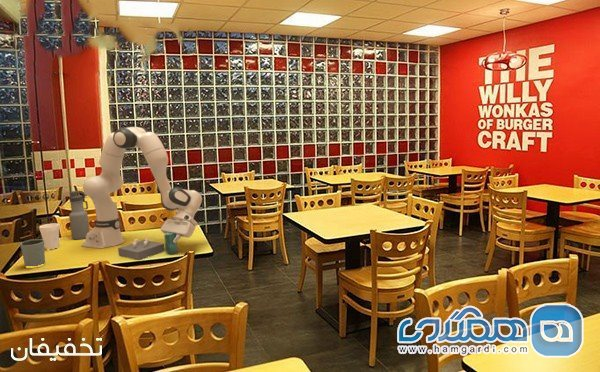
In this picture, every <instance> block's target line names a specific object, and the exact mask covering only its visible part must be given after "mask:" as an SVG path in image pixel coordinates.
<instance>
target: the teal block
mask: <svg viewBox="0 0 600 372" xmlns="http://www.w3.org/2000/svg"><path fill="white" fill-rule="evenodd" d="M163 235H164V236H163V237H164V248H165V253H166V254H167V255H174V254H176V253H178V241H177V242H176V243H173V242H172V240H173V239H174V238H175V237H176V233H167V234H165V233H163Z"/></svg>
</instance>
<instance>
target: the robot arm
mask: <svg viewBox="0 0 600 372" xmlns="http://www.w3.org/2000/svg"><path fill="white" fill-rule="evenodd" d="M136 148H138V149H140V151H141V152H142V154H143V157H144V158H145V161H146V163H147V164H148V167H149V169H150V172H151V173H152V176H153V179H154V181H155V183H156V186H157V189H158V191H159V194H160V203H161V206H162V208H163V209H165V210H167V211H170V212H171V211H172V212H173V211H176V210H177V209H178V210H177V211H176V214H174V216H173V217H172V216H171V217H170V218H167V219H166V220H165V222H164V223H163V224H162V225H161V227H160V232H162V233H163V234H167V233H176V237H175V238H174V239H173V240H172V242H173V243H176V242H177V243H178V241H179V240H180V239H181V238H182V237H183V238H188V239H189V238H190V237H192V236H193V234H194V232H195V231H196V227H197V226H198V223H199V222H198V221H196V220H195V219H194V217H195V214H196V213H197V212H198V210H199V208H200V207H201V204H202V201H203V197H202V195H201V193H200V192H198V190H197V191H196V190H194V189H190V190H189V189H185V188H184V189H183V188H181V187H178V186H177V187H176V186H175V187H173V188H172V186H171V184H170V181H169V178H168V177H167V176H168V175H167V167H168V164H169V157H168V152H167V151H166V149H165V146H164V145H163V143H162V141H161V139H160V138H159V136H158V135H157V134H156V133H155V132H153V131H149V130H148V129H147V128H145V127H142V126H128V127H121V128H118V129H117V130H115V131H114V132H111V133H109V134H108V136H107V138H106V140H105V142H104V145H103V147H102V150H101V153H100V156H99V161H98V165H99V166H100V168H101V172H100V174H99V175H96V176H91V177H90V178H88V179H86V180H85V181H84V182H83V184H82V191H83V192H84V193H85V196H88V197H89V198H90V199H91V201H92V203H93V206H94V210H95V216H96V220H94V221H93V222H92V225H94V227H93V228H91V229H89V232H88V233H87V234H86V238H85V241H84V242H82V243H81V247H86V248H94V249H103V248H104V249H105V248H109V247H115V246H118V245H121V244H123V243H125V240H124V237H123V235H122V232H121V227H120V226H121V223H120V222H121V221H120V217H119V212H118V205H117V203H116V202H115V201H114V200H112V197H111V193H114V192H116V191H118V190H120V189H121V188H122V187H123V184H124V180H123V179H124V178H123V177H122V176H121V166H122V163H123V161H124V160H123V159H124V157H125V153H126V150H127V149H136Z"/></svg>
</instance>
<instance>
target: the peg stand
mask: <svg viewBox="0 0 600 372" xmlns="http://www.w3.org/2000/svg"><path fill="white" fill-rule="evenodd" d="M117 249H118V250H117V252H118V256H119V255H120V256H119V257H123V256H124V258H127V257H128V258H129V259H132V260H137V261H140V259H141V260H143V258H144V259H147V258H149V257H151V256H154V255H157V254H161V253H163V252H166V247H165V243H162V242H157V241H152V240H149V237H145V238H144V239H143V240H140V241H139V239H138V238H134V241H132V243H129V244H126V245H124V246H120V247H118V248H117ZM148 256H149V257H148Z"/></svg>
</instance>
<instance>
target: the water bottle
mask: <svg viewBox="0 0 600 372" xmlns="http://www.w3.org/2000/svg"><path fill="white" fill-rule="evenodd" d="M69 195H70V196H69V203H70V208H71V212H70V213H69V214H68V219H69V224H70V225H69V227H70V232H71V233H70V234H71V239H72V240H74V239H75V240H76V241H77V240H78V241H79V240H86V234H87V233H88V232H89V231H90V223H89V215H88V212H87V211H86V210H88V209H89V204H88V201H86V200H85V199H86V198H87V197H86V196H87V195H86V194H85V192H84V190H82V191H81V190H73V191H70V192H69ZM84 203H85V206H86V207H85V208H84ZM75 240H74V241H75Z"/></svg>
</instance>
